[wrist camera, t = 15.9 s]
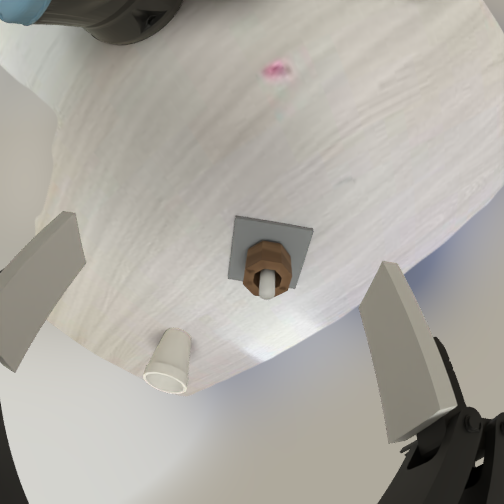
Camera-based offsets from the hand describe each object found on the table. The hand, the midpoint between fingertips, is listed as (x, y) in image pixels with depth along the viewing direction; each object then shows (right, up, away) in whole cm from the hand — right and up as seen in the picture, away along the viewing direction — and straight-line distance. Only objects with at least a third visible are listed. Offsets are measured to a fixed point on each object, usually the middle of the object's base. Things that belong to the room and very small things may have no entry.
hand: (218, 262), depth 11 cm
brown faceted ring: (+4, -1, +33) cm, 34 cm away
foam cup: (-16, -19, +50) cm, 55 cm away
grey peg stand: (+4, 0, +35) cm, 35 cm away
